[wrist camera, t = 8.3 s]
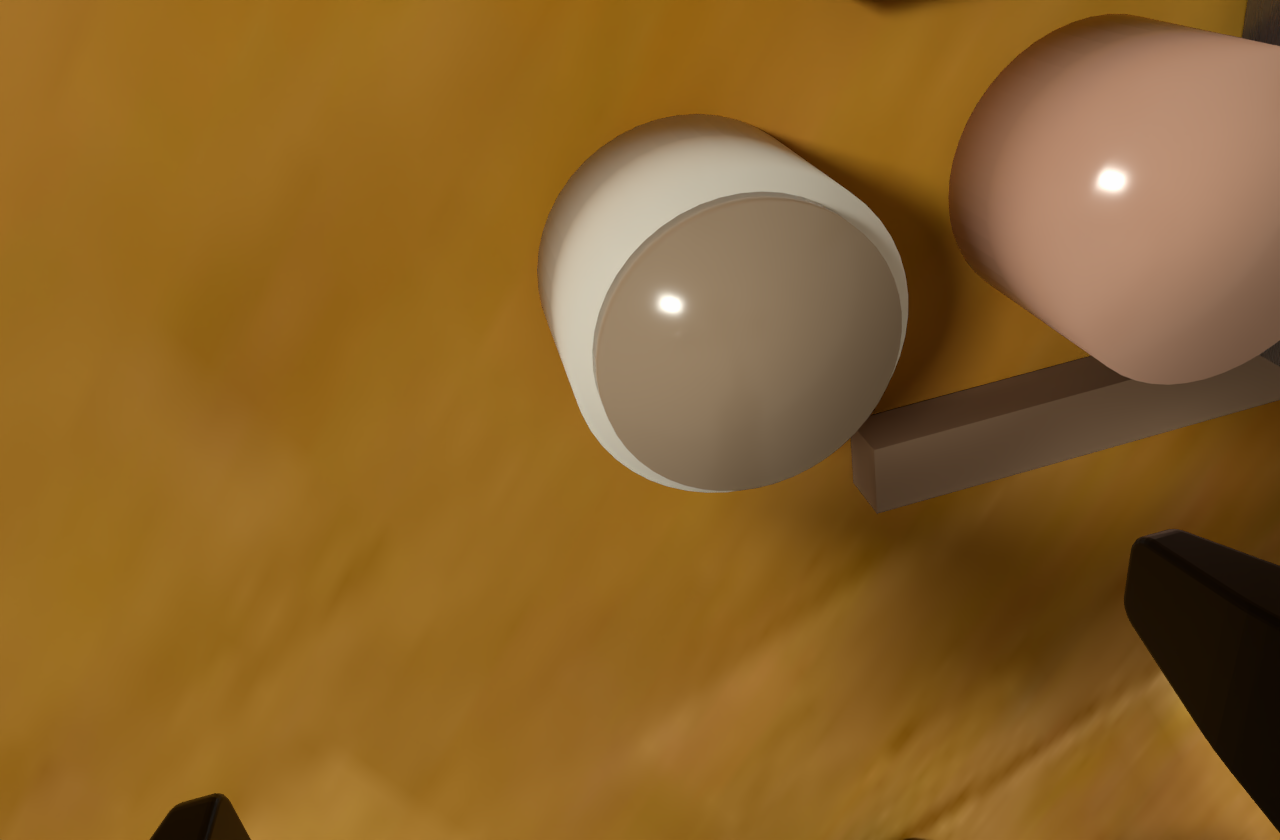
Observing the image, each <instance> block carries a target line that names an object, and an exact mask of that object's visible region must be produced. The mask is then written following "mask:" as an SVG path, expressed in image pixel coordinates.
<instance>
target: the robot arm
mask: <svg viewBox="0 0 1280 840" xmlns="http://www.w3.org/2000/svg"><path fill="white" fill-rule="evenodd" d="M1124 605H1125V610H1126V614H1127V616H1128V618H1129V621H1130V622H1131V624H1132V626H1133V627H1134V629H1135V631H1136V632H1137V634H1138V635H1139V637H1140V638H1141V640H1142V641H1143V643H1144V644H1145V646H1146V647H1147V649H1148V651H1149V652H1150V654H1151V655H1152V657H1153V658H1154V660H1155V661H1156V663H1157V664H1158V666H1159V667H1160V669H1161V671H1162V672H1163V674H1164V675H1165V677H1166V678H1167V680H1168V681H1169V683H1170V684H1171V686H1172V687H1173V689H1174V691H1175V692H1176V694H1177V695H1178V697H1179V698H1180V700H1181V701H1182V703H1183V704H1184V706H1185V707H1186V709H1187V711H1188V712H1189V714H1190V715H1191V717H1192V718H1193V720H1194V721H1195V723H1196V724H1197V726H1198V727H1199V729H1200V730H1201V732H1202V733H1203V735H1204V736H1205V738H1206V739H1207V741H1208V742H1209V743H1210V745H1211V746H1212V748H1213V749H1214V751H1215V752H1216V753H1217V754H1218V756H1219V757H1220V758H1221V760H1222V761H1223V762H1224V764H1225V765H1226V766H1227V768H1228V769H1229V770H1230V771H1231V773H1232V774H1233V775H1234V776H1235V778H1236V779H1237V780H1238V781H1239V783H1240V784H1241V785H1242V786H1243V788H1244V789H1245V790H1246V791H1247V793H1248V794H1249V795H1250V796H1251V798H1252V799H1253V800H1254V801H1255V803H1256V804H1257V805H1258V806H1259V808H1260V809H1261V810H1262V811H1263V813H1264V814H1265V815H1266V816H1267V818H1268V819H1269V820H1270V821H1271V823H1272V824H1273V825H1274V826H1275V828H1276V829H1277V830H1278V831H1279V833H1280V566H1278V565H1276V564H1273V563H1270V562H1267V561H1265V560H1262V559H1259V558H1257V557H1254V556H1251V555H1248V554H1246V553H1243V552H1240V551H1237V550H1235V549H1232V548H1229V547H1226V546H1224V545H1221V544H1218V543H1215V542H1213V541H1210V540H1207V539H1204V538H1202V537H1199V536H1196V535H1194V534H1191V533H1188V532H1185V531H1182V530H1178V529H1169V530H1165V531H1161V532H1158V533H1154V534H1150V535H1147V536H1143V537H1140V538H1139V539H1137V540H1136V541H1135V543H1134V544H1133V546H1132V548H1131V553H1130V560H1129V566H1128V573H1127V580H1126V586H1125V593H1124ZM150 840H251V839H250V837H249V835H248V834H247V832H246V830H245V828H244V826H243V824H242V822H241V821H240V819H239V817H238V815H237V813H236V811H235V810H234V808H233V806H232V804H231V802H230V801H229V799H228V798H227V797H226V796H224V795H223V794H220V793H218V794H216V793H214V794H211V795H207V796H204V797H200V798H196V799H193V800H189V801H186V802H182V803H180V804H178V805H176V806H175V807H174V808H173V809H172V810H170V812H169V813H168V814H167V816H166V817H165V818H164V820H163V821H162V823H161V824H160V826H159V827H158V828H157V830H156V831H155V833H154V834H153V836H152V837H151V838H150Z"/></svg>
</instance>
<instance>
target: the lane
mask: <svg viewBox="0 0 1280 840" xmlns="http://www.w3.org/2000/svg"><path fill="white" fill-rule="evenodd" d="M1277 400H1280V366H1278V365H1276V364H1274V363H1272V362H1271V361H1269V360H1267V359H1265V358H1264V357H1262V356H1260V355H1258V356H1256V357H1254V358H1252V359H1251V360H1249V361H1247V362H1245V363H1244V364H1242V365H1240V366H1238V367H1235V368H1233V369H1231V370H1229V371H1227V372H1224V373H1222V374H1219V375H1216V376H1213V377H1210V378H1207V379H1203V380H1199V381H1194V382H1189V383H1182V384H1171V385H1165V384H1150V383H1145V382H1140V381H1135V380H1133V379H1130V378H1128V377H1125V376H1122V375H1120V374H1118V373H1117V372H1115V371H1114V370H1112V369H1110V368H1109V367H1107V366H1106V365H1104V364H1103V363H1101V362H1100V361H1099V360H1097V359H1096V358H1094V357H1093V356H1089V357H1086V358H1082V359H1078V360H1074V361H1071V362H1067V363H1063V364H1060V365H1056V366H1052V367H1049V368H1045V369H1041V370H1037V371H1034V372H1030V373H1026V374H1023V375H1019V376H1015V377H1012V378H1008V379H1004V380H1000V381H997V382H993V383H989V384H986V385H982V386H978V387H975V388H971V389H967V390H963V391H960V392H956V393H952V394H949V395H945V396H941V397H938V398H934V399H930V400H926V401H923V402H919V403H915V404H912V405H908V406H904V407H901V408H897V409H893V410H889V411H886V412H882V413H878V414H875V415H871V416H869V417H868V419H867V420H866V421H865V422H864V423H863V424H862V426H861V427H860V428H859V429H858V430H857V432H856V433H855V434H854V435H853V436H852V437H851V449H852V466H853V482H854V484H855V485H856V487H857V488H858V489H859V491H860V492H861V493H862V494H863V496H864V497H865V498H866V500H867V501H868V502H869V504H870V505H871V506H872V508H873V509H874V510H875V511H876V513H881V512H884V511H888V510H891V509H895V508H899V507H902V506H906V505H909V504H913V503H916V502H920V501H923V500H927V499H930V498H934V497H937V496H941V495H945V494H948V493H952V492H955V491H959V490H962V489H966V488H969V487H973V486H976V485H980V484H983V483H987V482H991V481H994V480H998V479H1001V478H1005V477H1008V476H1012V475H1015V474H1019V473H1022V472H1026V471H1030V470H1033V469H1037V468H1040V467H1044V466H1047V465H1051V464H1054V463H1058V462H1061V461H1065V460H1068V459H1072V458H1076V457H1079V456H1083V455H1086V454H1090V453H1093V452H1097V451H1100V450H1104V449H1107V448H1111V447H1114V446H1118V445H1122V444H1125V443H1129V442H1132V441H1136V440H1139V439H1143V438H1146V437H1150V436H1153V435H1157V434H1161V433H1164V432H1168V431H1171V430H1175V429H1178V428H1182V427H1185V426H1189V425H1192V424H1196V423H1199V422H1203V421H1207V420H1210V419H1214V418H1217V417H1221V416H1224V415H1228V414H1231V413H1235V412H1238V411H1242V410H1246V409H1249V408H1253V407H1256V406H1260V405H1263V404H1267V403H1270V402H1274V401H1277Z"/></svg>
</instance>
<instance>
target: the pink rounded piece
mask: <svg viewBox="0 0 1280 840" xmlns="http://www.w3.org/2000/svg"><path fill="white" fill-rule="evenodd" d="M948 199H949V214H950V220H951V225H952V230H953V234H954V237H955V239H956V242H957V245H958V248H959V249H960V251H961V253H962V255H963V257H964V258H965V260H966V262H967V263H968V264H969V265H970V267H971V268H972V269H973V270H974V272H975V273H977V274H978V275H979V276H980V277H981V278H982V279H983V280H984V281H986V282H987V283H988V284H990V285H991V286H993V287H994V288H996V289H997V290H998V291H1000V292H1001V293H1003V294H1004V295H1006V296H1007V297H1008V298H1010V299H1011V300H1013V301H1014V302H1016V303H1017V304H1018V305H1020V306H1021V307H1023V308H1024V309H1026V310H1027V311H1028V312H1030V313H1031V314H1033V315H1034V316H1036V317H1037V318H1038V319H1040V320H1041V321H1043V322H1044V323H1046V324H1047V325H1048V326H1050V327H1051V328H1053V329H1054V330H1056V331H1057V332H1058V333H1060V334H1061V335H1063V336H1064V337H1066V338H1067V339H1068V340H1070V341H1071V342H1073V343H1074V344H1076V345H1077V346H1078V347H1080V348H1081V349H1083V350H1084V351H1086V352H1087V353H1089V354H1090V355H1091V356H1093V357H1094V358H1096V359H1097V360H1099V361H1100V362H1101V363H1103V364H1104V365H1106V366H1107V367H1109V368H1110V369H1112V370H1114V371H1115V372H1117V373H1118V374H1120V375H1122V376H1125V377H1128V378H1130V379H1133V380H1135V381H1140V382H1145V383H1150V384H1165V385H1171V384H1182V383H1189V382H1194V381H1199V380H1203V379H1207V378H1210V377H1213V376H1216V375H1219V374H1222V373H1224V372H1227V371H1229V370H1231V369H1233V368H1235V367H1238V366H1240V365H1242V364H1244V363H1245V362H1247V361H1249V360H1251V359H1252V358H1254V357H1256V356H1258V355H1259V354H1261V353H1263V352H1264V351H1265V350H1267V349H1268V348H1270V347H1271V346H1273V345H1274V344H1275V343H1277V342H1278V341H1280V46H1277V45H1272V44H1267V43H1263V42H1258V41H1253V40H1249V39H1244V38H1239V37H1234V36H1230V35H1225V34H1220V33H1216V32H1211V31H1206V30H1202V29H1197V28H1192V27H1187V26H1183V25H1178V24H1173V23H1169V22H1164V21H1159V20H1154V19H1150V18H1145V17H1140V16H1134V15H1128V14H1106V15H1100V16H1093V17H1089V18H1085V19H1082V20H1079V21H1075V22H1072V23H1070V24H1068V25H1065V26H1063V27H1061V28H1059V29H1057V30H1054V31H1053V32H1051V33H1049V34H1048V35H1046V36H1044V37H1043V38H1041V39H1039V40H1038V41H1036V42H1035V43H1034V44H1032V45H1031V46H1030V47H1028V48H1027V49H1026V50H1024V51H1023V52H1022V53H1021V54H1019V55H1018V56H1017V57H1016V58H1015V59H1014V60H1013V61H1012V62H1011V63H1010V64H1009V65H1008V66H1007V67H1006V68H1005V69H1004V70H1003V71H1002V72H1001V73H1000V74H999V75H998V77H997V78H996V79H995V80H994V81H993V83H992V84H991V85H990V86H989V88H988V89H987V90H986V92H985V93H984V95H983V96H982V98H981V99H980V101H979V102H978V103H977V105H976V107H975V109H974V111H973V112H972V114H971V116H970V118H969V120H968V122H967V124H966V126H965V128H964V131H963V133H962V136H961V138H960V140H959V143H958V146H957V150H956V153H955V156H954V160H953V164H952V170H951V175H950V182H949V198H948Z"/></svg>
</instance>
